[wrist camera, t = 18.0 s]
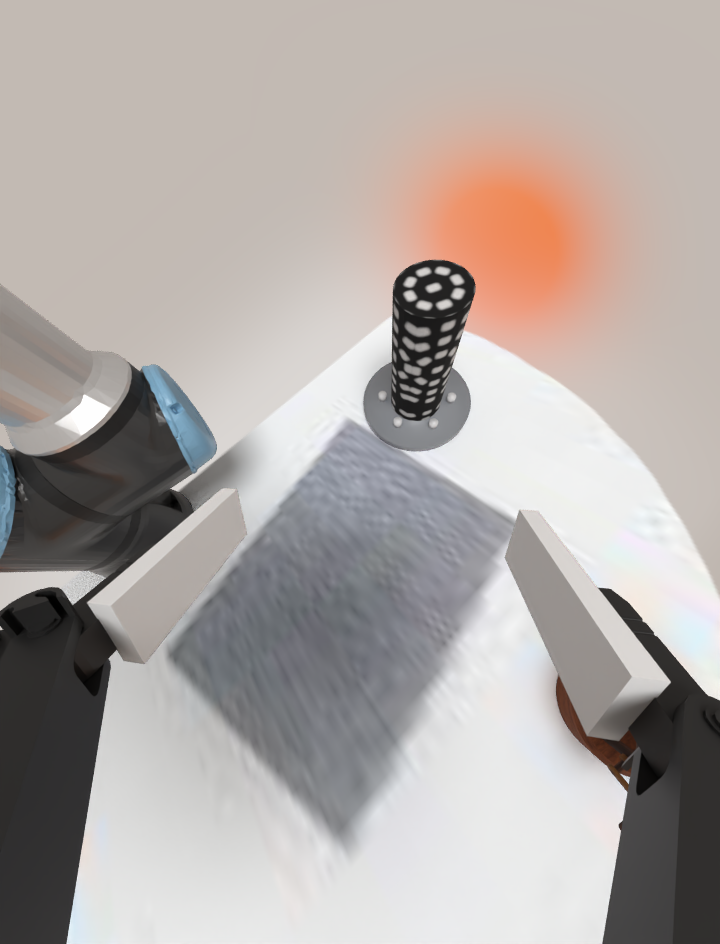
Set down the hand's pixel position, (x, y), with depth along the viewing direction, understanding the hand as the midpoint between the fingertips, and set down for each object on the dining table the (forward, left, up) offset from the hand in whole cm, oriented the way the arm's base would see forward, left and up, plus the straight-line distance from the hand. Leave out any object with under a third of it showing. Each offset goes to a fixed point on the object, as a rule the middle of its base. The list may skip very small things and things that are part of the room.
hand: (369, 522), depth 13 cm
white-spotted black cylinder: (+4, +26, -28) cm, 38 cm away
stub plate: (+4, +26, -30) cm, 39 cm away
